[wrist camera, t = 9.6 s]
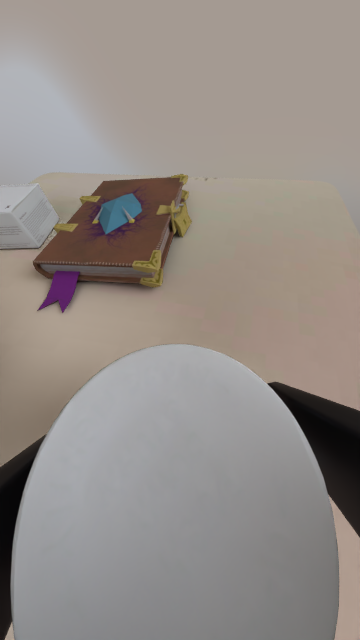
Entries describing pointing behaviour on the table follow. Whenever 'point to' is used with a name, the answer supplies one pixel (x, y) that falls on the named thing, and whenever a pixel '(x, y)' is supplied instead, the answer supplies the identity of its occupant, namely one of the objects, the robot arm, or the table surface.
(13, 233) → the small box
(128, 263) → the book
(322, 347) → the table surface
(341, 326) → the table surface
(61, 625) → the pill bottle
